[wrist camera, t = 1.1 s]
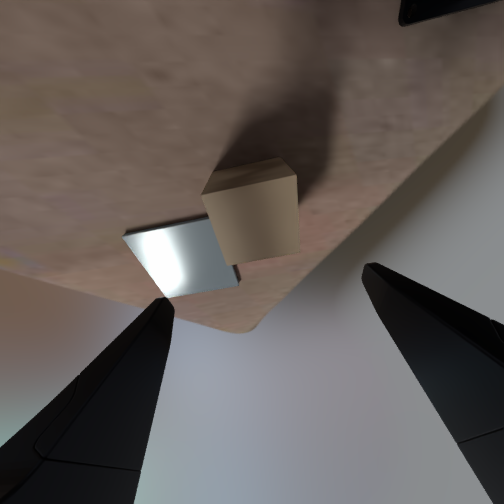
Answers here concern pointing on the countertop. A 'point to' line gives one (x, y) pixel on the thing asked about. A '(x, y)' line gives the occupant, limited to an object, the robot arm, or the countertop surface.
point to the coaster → (183, 257)
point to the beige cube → (254, 210)
